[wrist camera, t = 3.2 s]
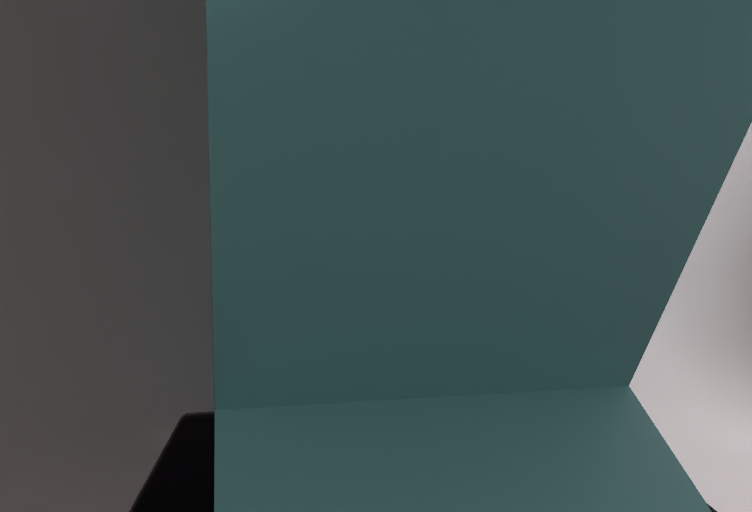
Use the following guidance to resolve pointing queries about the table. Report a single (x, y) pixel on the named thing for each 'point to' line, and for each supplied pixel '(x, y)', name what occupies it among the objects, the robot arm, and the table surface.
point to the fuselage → (457, 244)
